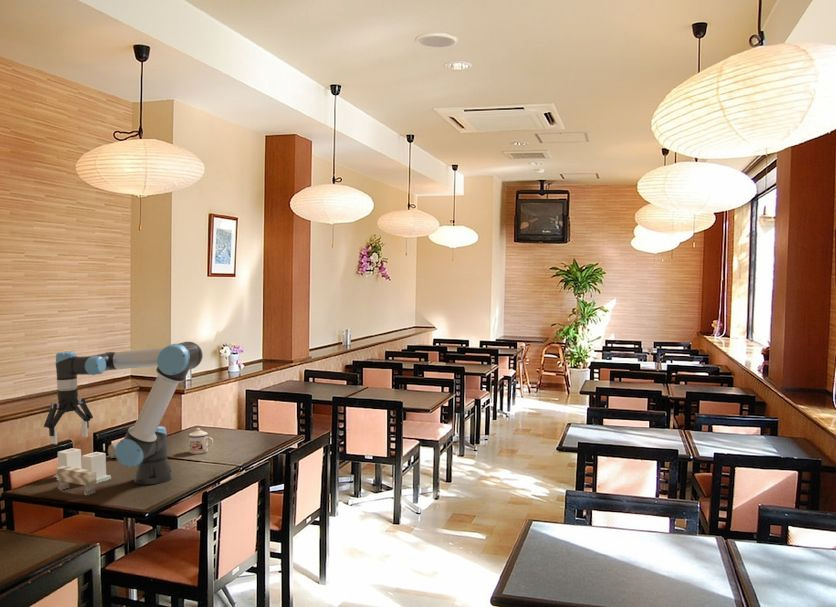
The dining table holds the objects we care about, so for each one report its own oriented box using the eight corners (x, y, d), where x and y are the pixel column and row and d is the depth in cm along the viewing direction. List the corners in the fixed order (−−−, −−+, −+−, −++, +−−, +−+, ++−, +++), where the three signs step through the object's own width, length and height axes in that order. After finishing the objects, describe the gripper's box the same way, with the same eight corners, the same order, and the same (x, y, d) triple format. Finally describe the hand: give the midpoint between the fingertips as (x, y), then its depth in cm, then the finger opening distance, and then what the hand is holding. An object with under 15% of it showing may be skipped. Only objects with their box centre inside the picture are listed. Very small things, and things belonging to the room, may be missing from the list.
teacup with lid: (186, 454, 340) (185, 430, 340) (193, 449, 350) (193, 426, 349) (209, 454, 339) (208, 430, 339) (216, 449, 348) (216, 426, 348)
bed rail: (96, 493, 280) (96, 471, 280) (89, 495, 277) (88, 473, 277) (64, 487, 289) (63, 465, 289) (56, 489, 286) (56, 468, 286)
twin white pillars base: (111, 479, 300) (110, 452, 300) (90, 485, 291) (89, 458, 291) (74, 472, 311) (73, 447, 311) (53, 478, 302) (52, 452, 302)
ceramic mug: (107, 458, 336) (106, 442, 336) (123, 454, 342) (122, 439, 342) (117, 461, 329) (117, 445, 329) (134, 458, 336) (133, 442, 335)
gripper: (88, 384, 299) (91, 432, 300) (32, 393, 278) (35, 446, 279) (100, 385, 296) (102, 434, 297) (43, 394, 274) (46, 447, 275)
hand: (70, 440), depth 288 cm, fingers open, 13 cm apart
